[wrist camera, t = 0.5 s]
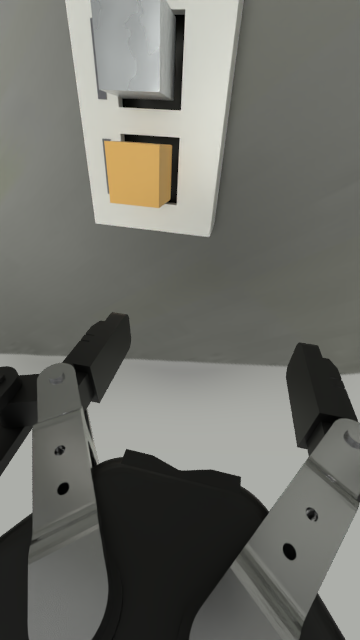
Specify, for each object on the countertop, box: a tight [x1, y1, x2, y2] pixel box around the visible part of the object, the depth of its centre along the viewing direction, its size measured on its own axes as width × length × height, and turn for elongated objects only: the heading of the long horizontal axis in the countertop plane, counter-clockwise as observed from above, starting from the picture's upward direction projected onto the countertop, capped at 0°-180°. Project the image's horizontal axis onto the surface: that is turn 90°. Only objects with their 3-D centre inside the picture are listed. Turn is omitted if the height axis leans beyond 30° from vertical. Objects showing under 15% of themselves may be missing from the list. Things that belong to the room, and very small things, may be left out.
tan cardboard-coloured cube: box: [104, 141, 172, 208], centre depth 24 cm, size 5×5×4 cm
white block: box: [90, 0, 176, 101], centre depth 19 cm, size 5×5×4 cm
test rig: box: [65, 0, 244, 237], centre depth 26 cm, size 20×14×6 cm
